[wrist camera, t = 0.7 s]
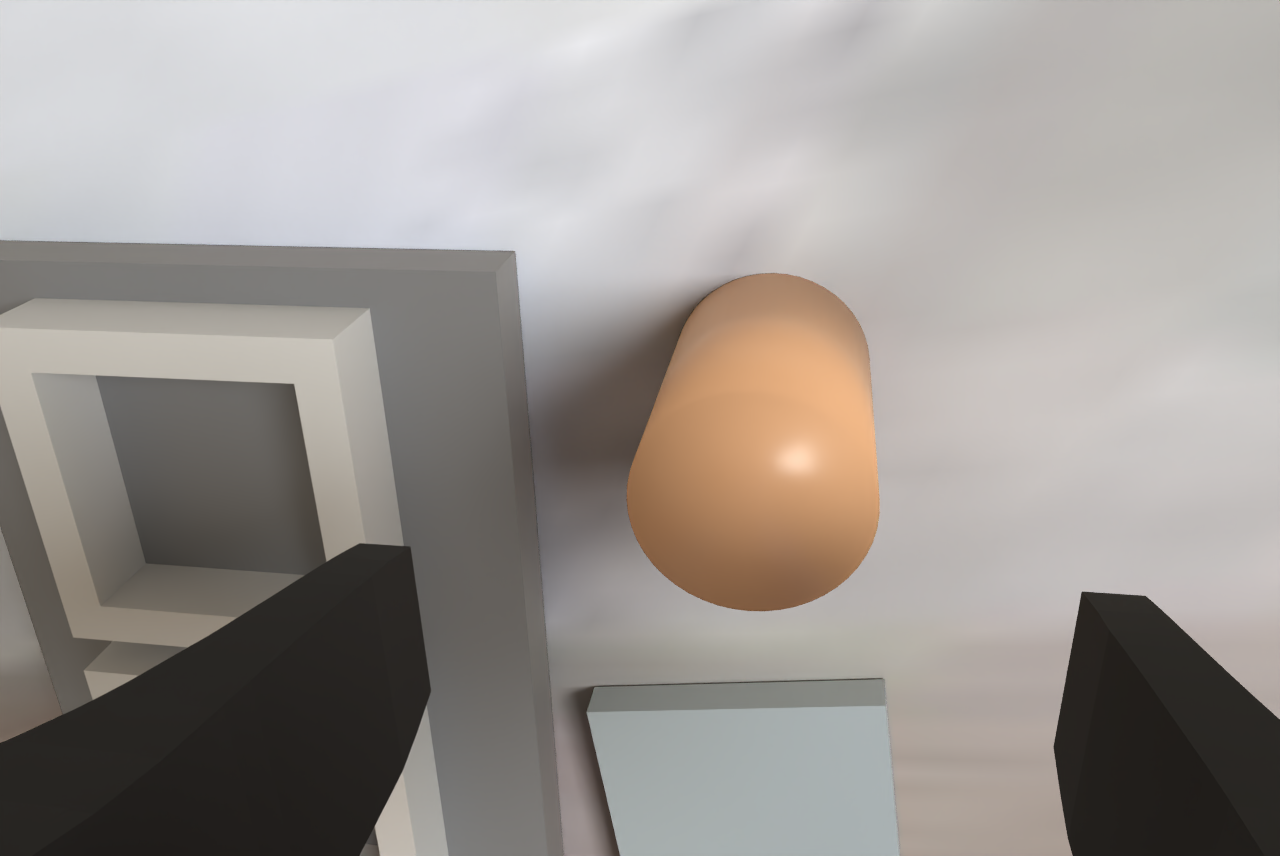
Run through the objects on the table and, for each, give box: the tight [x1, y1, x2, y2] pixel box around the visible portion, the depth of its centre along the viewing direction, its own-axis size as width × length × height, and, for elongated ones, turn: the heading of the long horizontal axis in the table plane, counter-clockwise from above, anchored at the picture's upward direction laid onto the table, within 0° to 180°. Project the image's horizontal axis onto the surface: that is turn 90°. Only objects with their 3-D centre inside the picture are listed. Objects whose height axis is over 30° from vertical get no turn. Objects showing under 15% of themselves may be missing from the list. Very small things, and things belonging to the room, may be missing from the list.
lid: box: [587, 679, 900, 856], centre depth 23 cm, size 8×6×1 cm
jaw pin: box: [627, 273, 879, 611], centre depth 17 cm, size 3×3×5 cm
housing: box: [0, 241, 564, 856], centre depth 22 cm, size 15×11×3 cm
